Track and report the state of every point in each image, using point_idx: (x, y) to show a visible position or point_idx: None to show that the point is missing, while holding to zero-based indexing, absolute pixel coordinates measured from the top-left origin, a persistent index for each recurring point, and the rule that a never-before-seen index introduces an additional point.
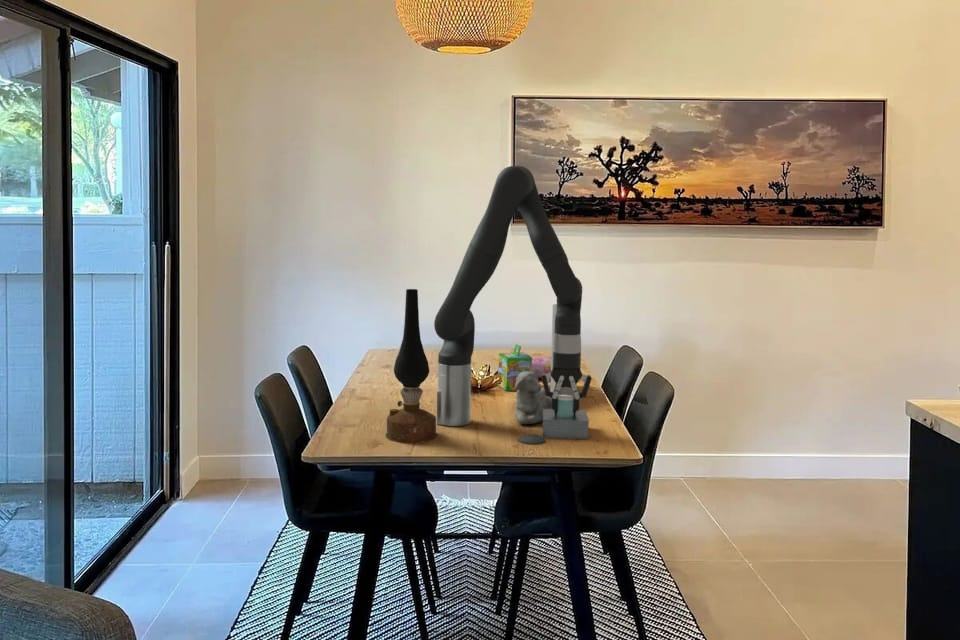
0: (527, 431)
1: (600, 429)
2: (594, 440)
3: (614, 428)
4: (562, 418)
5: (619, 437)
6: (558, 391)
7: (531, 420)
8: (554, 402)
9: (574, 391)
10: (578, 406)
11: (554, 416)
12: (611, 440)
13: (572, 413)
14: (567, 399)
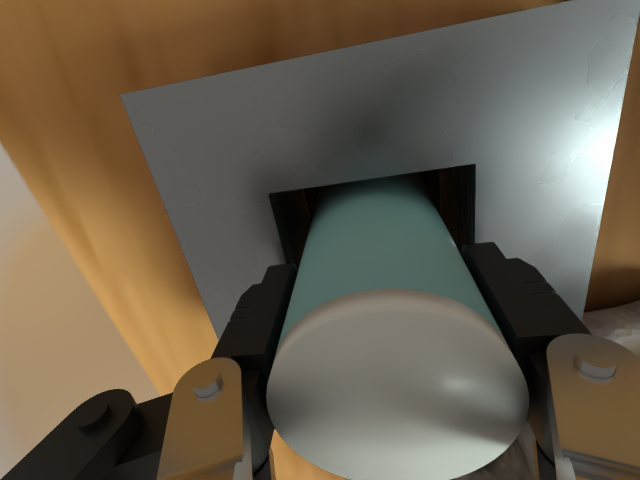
0: (636, 171)
1: (192, 308)
2: (150, 64)
3: (136, 336)
4: (393, 117)
5: (46, 183)
6: (577, 459)
7: (607, 317)
8: (536, 314)
9: (210, 470)
10: (237, 311)
11: (481, 178)
12: (55, 100)
13: (305, 249)
14: (351, 308)
